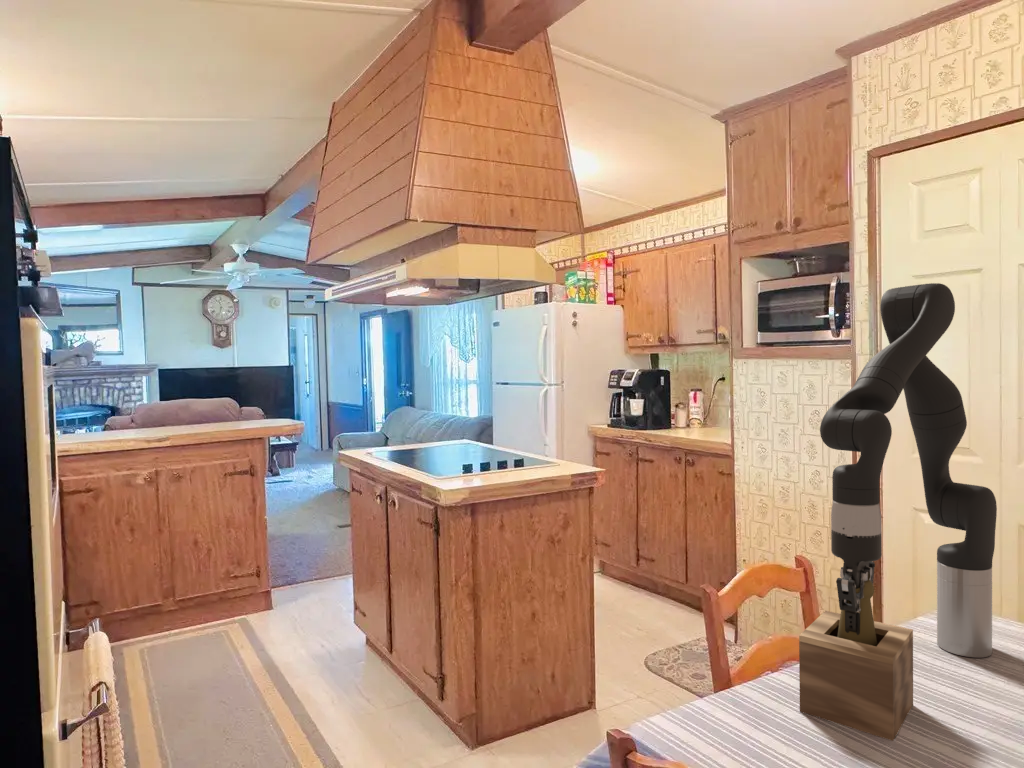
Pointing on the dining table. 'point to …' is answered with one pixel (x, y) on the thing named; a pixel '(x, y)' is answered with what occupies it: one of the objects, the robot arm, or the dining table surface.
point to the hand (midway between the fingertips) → (856, 628)
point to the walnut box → (857, 676)
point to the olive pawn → (861, 620)
